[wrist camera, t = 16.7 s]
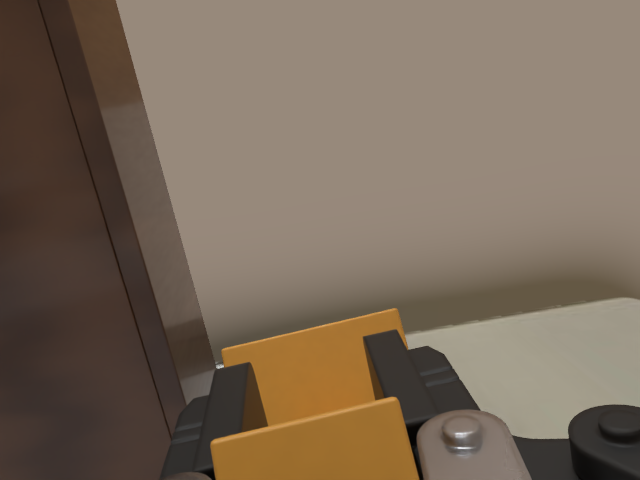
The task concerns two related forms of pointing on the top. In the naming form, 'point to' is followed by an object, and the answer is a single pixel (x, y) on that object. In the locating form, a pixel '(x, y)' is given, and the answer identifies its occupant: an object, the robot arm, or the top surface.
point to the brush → (318, 409)
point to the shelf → (87, 257)
